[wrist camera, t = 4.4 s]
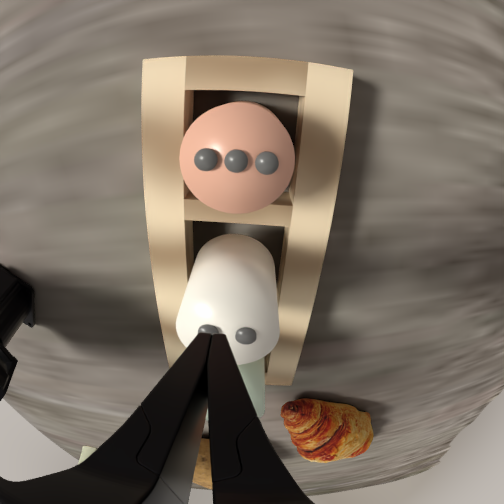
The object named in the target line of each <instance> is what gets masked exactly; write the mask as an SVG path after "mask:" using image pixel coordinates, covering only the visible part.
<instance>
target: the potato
mask: <svg viewBox="0 0 504 504" xmlns="http://www.w3.org/2000/svg"><path fill="white" fill-rule="evenodd" d="M192 482H194V483H196V484H198V485H201V486H203V487H206V488H209V489H212V477H211V462H210V445H209V439H203V438H201V442H200V447H199V452H198V457H197V462H196V466H195V471H194V476H193V481H192Z"/></svg>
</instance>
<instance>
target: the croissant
mask: <svg viewBox="0 0 504 504" xmlns="http://www.w3.org/2000/svg"><path fill="white" fill-rule="evenodd" d="M281 417H283V418H284V425H285V428H286V429H288V431H289V433H290V434H291V440H292V441H291V442H292V443H293V444H294V445H295V446H296V447H297V451H298V452H299V454H300V455H301V456H302V457H303V458H305V459H307V460H309V461H311V462H313V461H315V462H320V463H322V462H323V463H327V462H330V461H336V460H340V459H344V458H351V457H355V456H358V455H360V454H362V453H364V452H365V451H366V450H367V449H368V448H369V446H370V444H371V442H372V440H373V429H372V425H371V418H370V414H369V413H368V412H362V411H358V410H357V409H356V408H355V407H354V406H351V405H348V404H340V403H333V402H325V401H322V400H316V399H307V398H304V399H298V400H295V401H290V402H287V403H286V404H284V405H283V406H282V409H281Z"/></svg>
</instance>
